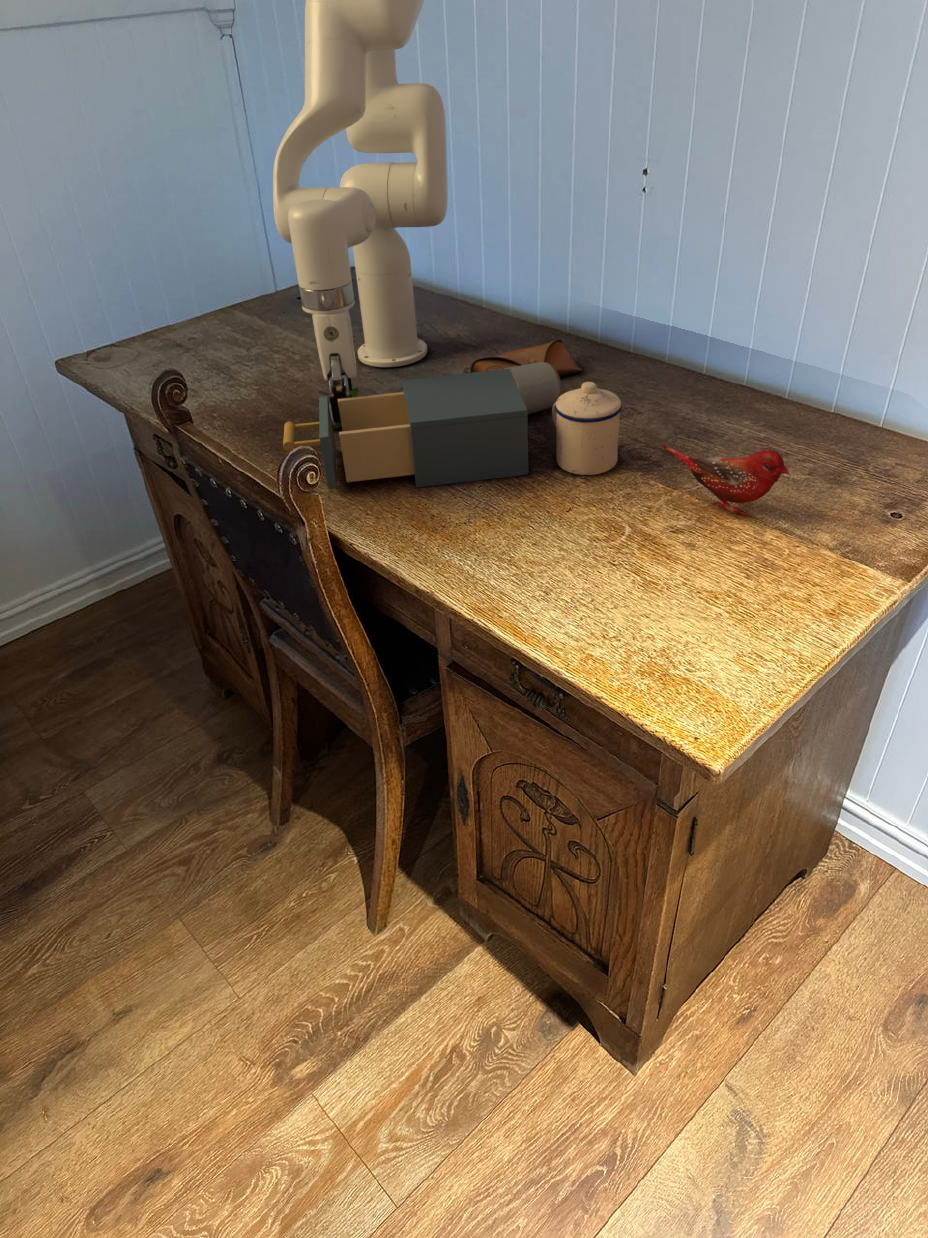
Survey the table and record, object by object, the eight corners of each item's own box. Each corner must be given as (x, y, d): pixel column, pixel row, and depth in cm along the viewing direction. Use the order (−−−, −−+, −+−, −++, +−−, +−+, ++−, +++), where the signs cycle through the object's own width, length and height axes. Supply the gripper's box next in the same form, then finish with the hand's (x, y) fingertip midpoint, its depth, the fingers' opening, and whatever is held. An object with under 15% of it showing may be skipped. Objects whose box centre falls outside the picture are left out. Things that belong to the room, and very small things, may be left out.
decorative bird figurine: (773, 534, 111) (786, 461, 105) (651, 490, 121) (657, 421, 115) (784, 524, 113) (798, 452, 106) (663, 481, 123) (669, 413, 116)
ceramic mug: (564, 412, 141) (564, 364, 136) (520, 425, 138) (519, 377, 133) (528, 390, 148) (527, 344, 144) (485, 403, 146) (483, 357, 141)
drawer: (289, 493, 124) (278, 441, 119) (291, 450, 134) (282, 400, 129) (433, 477, 125) (428, 425, 120) (424, 435, 136) (419, 385, 131)
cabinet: (416, 487, 125) (409, 422, 119) (408, 441, 136) (402, 379, 130) (528, 474, 126) (527, 409, 120) (511, 429, 137) (509, 368, 131)
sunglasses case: (493, 395, 146) (482, 354, 145) (477, 402, 153) (466, 363, 152) (587, 369, 152) (577, 330, 151) (567, 378, 159) (557, 340, 158)
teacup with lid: (632, 463, 127) (637, 385, 120) (582, 483, 123) (584, 404, 116) (578, 433, 135) (579, 358, 128) (529, 452, 131) (528, 376, 124)
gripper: (355, 312, 122) (370, 429, 132) (351, 275, 135) (365, 383, 146) (299, 318, 121) (319, 434, 132) (301, 280, 135) (319, 388, 145)
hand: (343, 408), depth 139 cm, fingers open, 9 cm apart
